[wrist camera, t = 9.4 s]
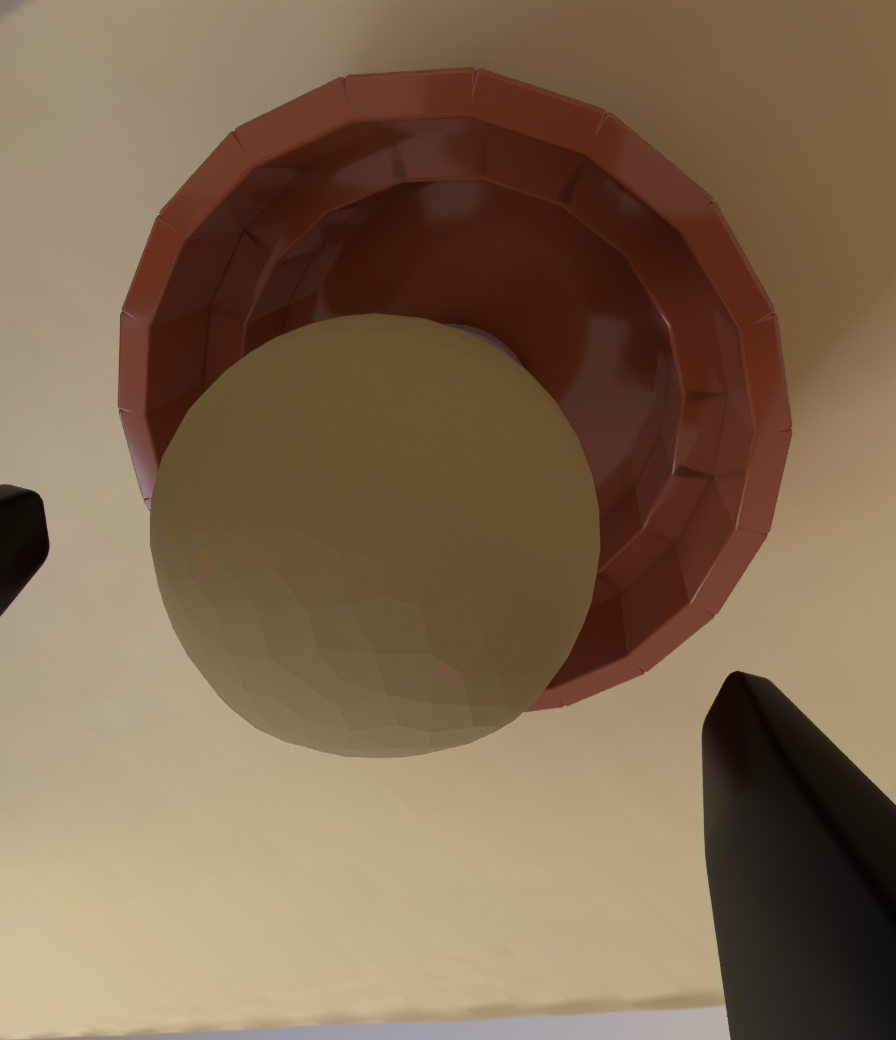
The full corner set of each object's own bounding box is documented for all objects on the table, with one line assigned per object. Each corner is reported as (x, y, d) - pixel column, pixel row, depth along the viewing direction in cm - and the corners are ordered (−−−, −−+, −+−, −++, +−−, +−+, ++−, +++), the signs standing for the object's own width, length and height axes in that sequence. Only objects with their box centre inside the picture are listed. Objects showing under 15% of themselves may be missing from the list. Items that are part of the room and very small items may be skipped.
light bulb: (301, 281, 15) (-66, 429, 7) (580, 231, 14) (578, 339, 5) (365, 522, 18) (166, 849, 9) (602, 502, 17) (626, 872, 8)
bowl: (349, 624, 21) (287, 745, 16) (151, 224, 16) (-10, 245, 12) (764, 543, 17) (827, 672, 13) (670, -11, 12) (719, -110, 8)
